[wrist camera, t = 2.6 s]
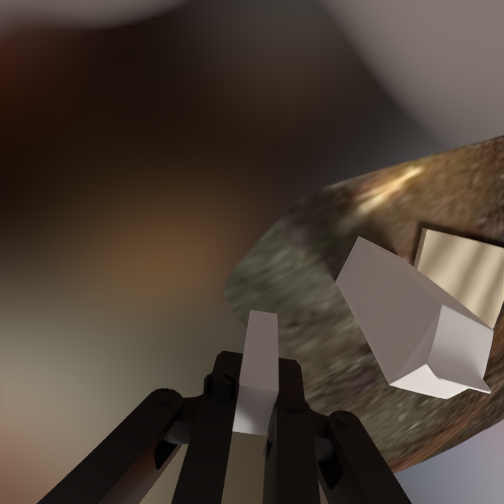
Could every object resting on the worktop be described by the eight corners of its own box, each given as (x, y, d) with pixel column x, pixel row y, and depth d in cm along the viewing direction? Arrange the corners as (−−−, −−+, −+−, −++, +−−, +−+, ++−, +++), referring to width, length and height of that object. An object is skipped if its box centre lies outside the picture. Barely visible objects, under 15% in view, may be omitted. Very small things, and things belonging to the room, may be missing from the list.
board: (512, 250, 31) (517, 252, 30) (488, 325, 34) (492, 328, 33) (422, 227, 32) (427, 229, 30) (397, 319, 35) (400, 323, 34)
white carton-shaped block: (375, 299, 34) (463, 429, 13) (333, 281, 34) (402, 421, 13) (399, 255, 33) (520, 354, 11) (357, 233, 32) (470, 330, 11)
